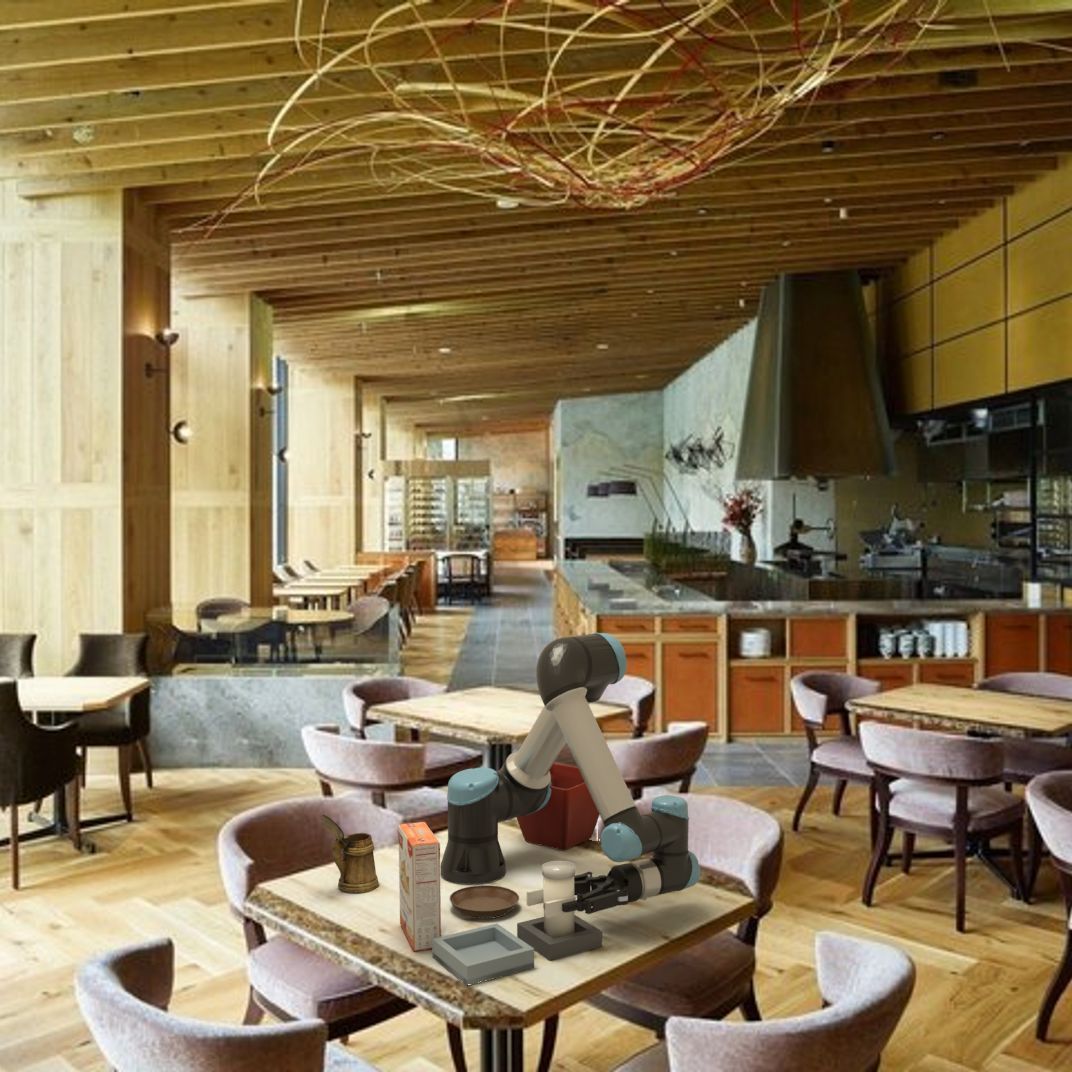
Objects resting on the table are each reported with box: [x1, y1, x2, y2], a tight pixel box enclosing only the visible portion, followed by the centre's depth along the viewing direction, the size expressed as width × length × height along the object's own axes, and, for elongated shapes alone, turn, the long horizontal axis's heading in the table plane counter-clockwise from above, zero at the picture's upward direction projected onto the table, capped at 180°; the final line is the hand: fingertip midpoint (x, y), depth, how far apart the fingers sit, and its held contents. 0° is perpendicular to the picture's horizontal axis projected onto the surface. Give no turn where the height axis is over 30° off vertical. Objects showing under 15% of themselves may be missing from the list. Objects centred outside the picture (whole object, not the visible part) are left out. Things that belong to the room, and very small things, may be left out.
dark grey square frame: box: [516, 914, 603, 961], centre depth 202 cm, size 12×12×3 cm
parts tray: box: [431, 923, 535, 986], centre depth 193 cm, size 14×14×4 cm
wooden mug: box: [321, 814, 380, 894], centre depth 231 cm, size 9×14×18 cm, turn 132°
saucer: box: [449, 884, 520, 919], centre depth 220 cm, size 15×15×3 cm
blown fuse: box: [541, 860, 576, 939], centre depth 202 cm, size 6×6×15 cm
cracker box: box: [397, 821, 442, 952], centre depth 205 cm, size 14×6×21 cm, turn 18°
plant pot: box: [516, 762, 600, 851], centre depth 265 cm, size 19×19×17 cm
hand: (536, 904), depth 199 cm, fingers closed on blown fuse, 6 cm apart
